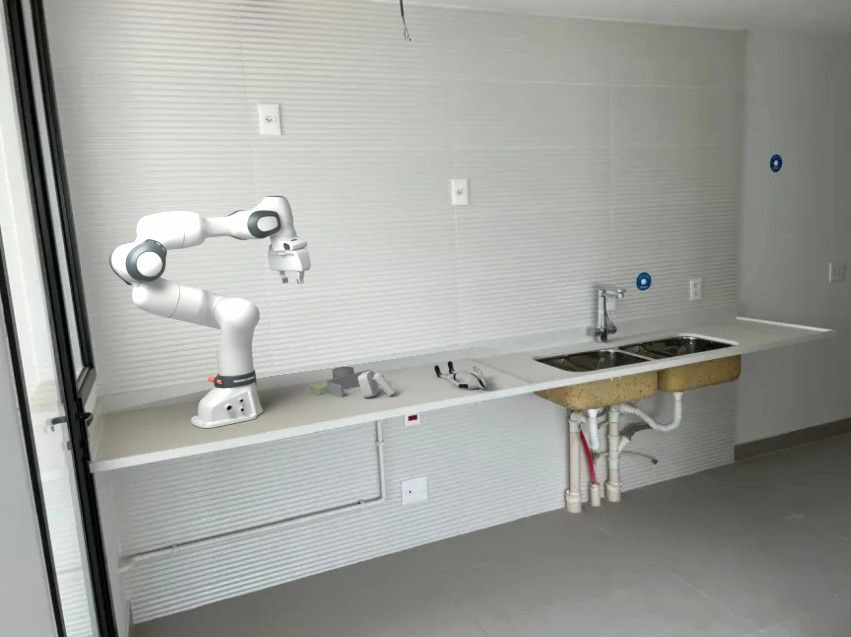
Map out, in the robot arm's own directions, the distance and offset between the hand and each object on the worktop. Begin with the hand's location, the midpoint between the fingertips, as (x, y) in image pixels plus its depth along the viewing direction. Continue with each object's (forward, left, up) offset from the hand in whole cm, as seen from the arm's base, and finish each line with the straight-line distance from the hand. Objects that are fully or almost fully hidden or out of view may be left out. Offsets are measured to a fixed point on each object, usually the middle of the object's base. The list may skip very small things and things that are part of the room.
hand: (293, 283), depth 214 cm
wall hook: (+19, -20, -41) cm, 49 cm away
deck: (+19, -3, -41) cm, 45 cm away
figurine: (+49, -32, -41) cm, 71 cm away
